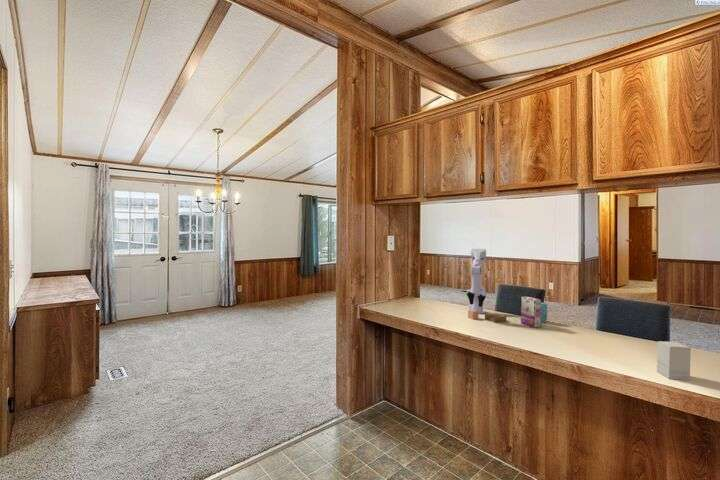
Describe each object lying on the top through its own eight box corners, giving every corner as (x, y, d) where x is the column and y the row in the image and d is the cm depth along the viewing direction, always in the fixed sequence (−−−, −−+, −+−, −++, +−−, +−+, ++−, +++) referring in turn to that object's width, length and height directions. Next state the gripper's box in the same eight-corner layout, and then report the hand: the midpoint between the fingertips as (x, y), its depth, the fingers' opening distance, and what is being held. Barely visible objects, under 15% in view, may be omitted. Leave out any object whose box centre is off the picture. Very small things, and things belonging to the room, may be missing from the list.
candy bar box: (541, 327, 206) (541, 299, 205) (534, 328, 204) (534, 300, 204) (527, 322, 216) (527, 296, 216) (520, 323, 215) (520, 296, 215)
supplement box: (690, 380, 133) (691, 347, 133) (668, 379, 135) (669, 346, 134) (676, 372, 141) (677, 341, 140) (655, 371, 142) (656, 340, 142)
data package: (547, 322, 217) (547, 303, 216) (543, 323, 214) (543, 304, 214) (528, 318, 226) (528, 300, 226) (524, 319, 224) (524, 300, 223)
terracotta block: (468, 317, 228) (468, 310, 227) (473, 317, 229) (473, 309, 229) (472, 319, 223) (472, 311, 223) (478, 318, 225) (478, 311, 225)
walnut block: (484, 319, 224) (484, 314, 224) (495, 318, 228) (495, 313, 228) (495, 323, 216) (495, 317, 216) (506, 321, 219) (506, 316, 219)
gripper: (463, 283, 229) (463, 303, 230) (480, 286, 217) (480, 308, 217) (471, 282, 233) (471, 302, 233) (488, 285, 220) (488, 307, 220)
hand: (476, 305), depth 225 cm, fingers open, 7 cm apart
